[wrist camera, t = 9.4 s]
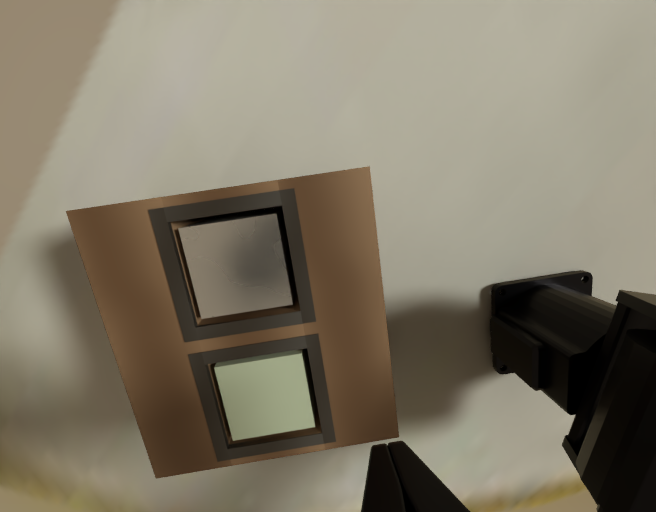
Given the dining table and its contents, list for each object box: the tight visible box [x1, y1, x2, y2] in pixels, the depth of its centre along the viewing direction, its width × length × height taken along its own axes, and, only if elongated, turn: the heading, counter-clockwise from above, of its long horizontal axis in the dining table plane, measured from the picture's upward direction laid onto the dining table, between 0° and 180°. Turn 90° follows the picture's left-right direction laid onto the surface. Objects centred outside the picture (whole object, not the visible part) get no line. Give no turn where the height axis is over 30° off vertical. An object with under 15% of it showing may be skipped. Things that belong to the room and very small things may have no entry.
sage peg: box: [214, 348, 315, 441], centre depth 17 cm, size 4×4×6 cm
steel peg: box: [178, 206, 296, 319], centre depth 16 cm, size 4×4×6 cm
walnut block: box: [66, 167, 399, 478], centre depth 16 cm, size 12×13×6 cm
